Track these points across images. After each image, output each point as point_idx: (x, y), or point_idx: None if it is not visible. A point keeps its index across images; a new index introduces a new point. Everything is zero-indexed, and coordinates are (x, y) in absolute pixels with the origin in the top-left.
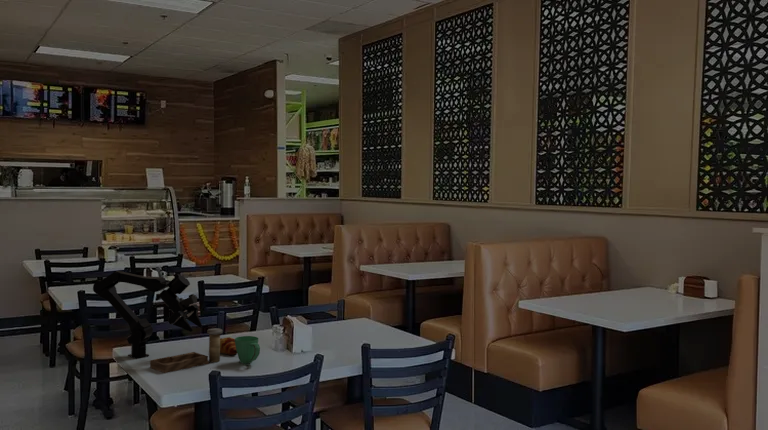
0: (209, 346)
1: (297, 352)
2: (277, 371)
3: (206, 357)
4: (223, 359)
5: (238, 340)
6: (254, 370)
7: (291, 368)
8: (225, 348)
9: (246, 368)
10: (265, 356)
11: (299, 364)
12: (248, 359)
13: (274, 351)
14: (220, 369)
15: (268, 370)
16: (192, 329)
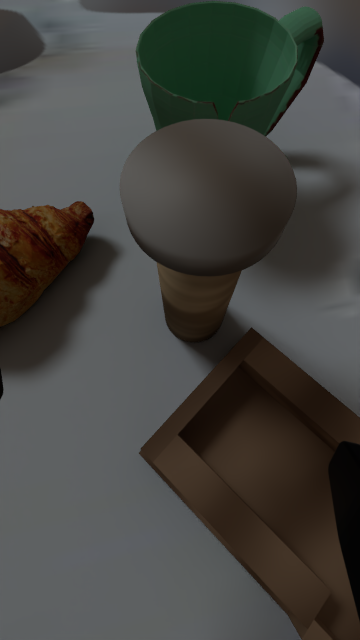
0: (218, 305)
1: (50, 41)
2: (327, 73)
3: (258, 336)
4: (157, 276)
5: (173, 115)
6: (331, 136)
7: None
8: (46, 265)
9: (307, 164)
10: (106, 124)
11: None
12: None
13: (22, 104)
14: (346, 259)
15: (320, 97)
16: (355, 447)
